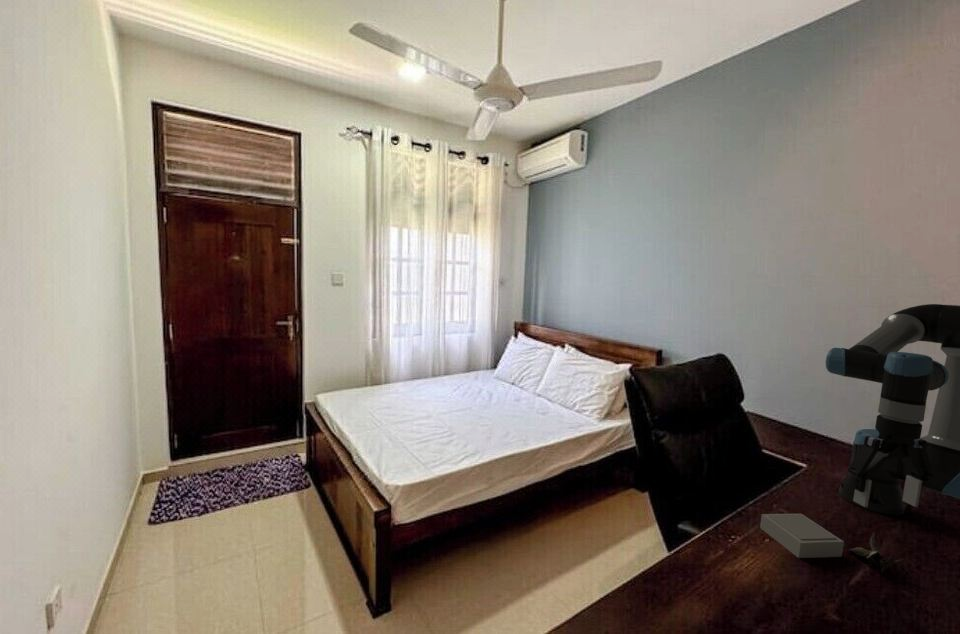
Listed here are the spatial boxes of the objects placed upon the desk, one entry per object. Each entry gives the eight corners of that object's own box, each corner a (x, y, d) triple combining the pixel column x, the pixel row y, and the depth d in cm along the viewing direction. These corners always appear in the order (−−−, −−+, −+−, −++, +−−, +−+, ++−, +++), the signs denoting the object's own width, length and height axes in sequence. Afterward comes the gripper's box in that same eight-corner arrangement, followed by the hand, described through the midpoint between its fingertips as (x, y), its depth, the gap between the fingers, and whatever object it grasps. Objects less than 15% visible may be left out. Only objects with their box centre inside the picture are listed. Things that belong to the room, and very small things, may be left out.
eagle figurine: (910, 572, 96) (877, 541, 104) (900, 550, 94) (868, 520, 103) (875, 582, 97) (846, 551, 106) (866, 561, 96) (837, 531, 104)
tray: (799, 527, 113) (801, 512, 113) (841, 556, 102) (844, 540, 101) (759, 527, 112) (761, 513, 112) (798, 558, 100) (800, 541, 100)
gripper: (926, 413, 101) (912, 495, 103) (836, 411, 98) (824, 495, 100) (965, 425, 93) (949, 512, 95) (869, 422, 90) (855, 513, 92)
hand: (885, 504), depth 98 cm, fingers open, 13 cm apart
